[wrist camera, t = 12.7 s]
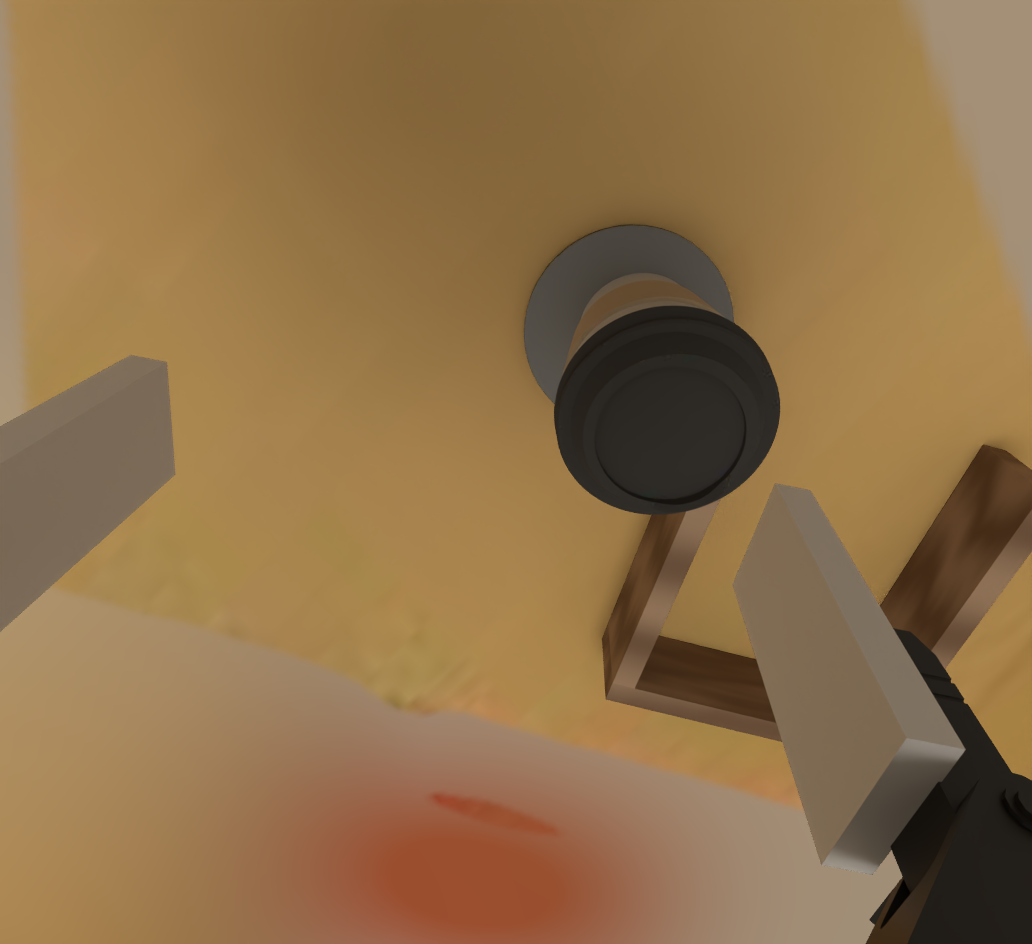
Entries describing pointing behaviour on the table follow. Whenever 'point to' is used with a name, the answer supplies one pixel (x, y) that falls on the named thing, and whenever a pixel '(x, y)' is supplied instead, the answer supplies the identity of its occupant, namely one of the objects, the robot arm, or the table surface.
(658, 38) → the table surface
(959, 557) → the brown rectangular open frame
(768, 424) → the coffee cup
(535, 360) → the coaster
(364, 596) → the table surface
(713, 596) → the table surface
